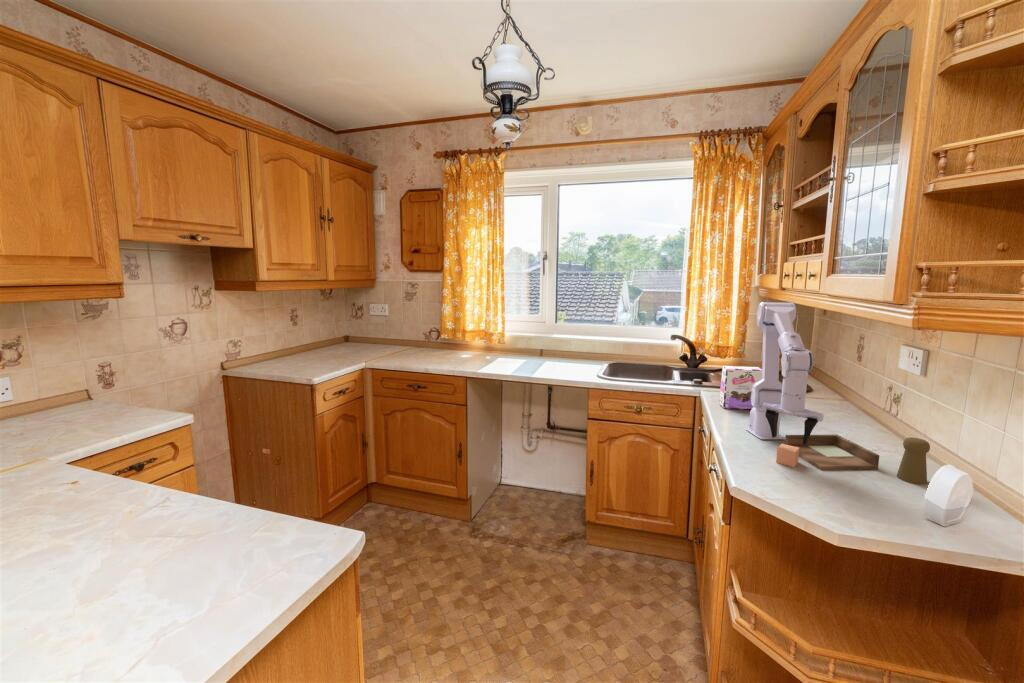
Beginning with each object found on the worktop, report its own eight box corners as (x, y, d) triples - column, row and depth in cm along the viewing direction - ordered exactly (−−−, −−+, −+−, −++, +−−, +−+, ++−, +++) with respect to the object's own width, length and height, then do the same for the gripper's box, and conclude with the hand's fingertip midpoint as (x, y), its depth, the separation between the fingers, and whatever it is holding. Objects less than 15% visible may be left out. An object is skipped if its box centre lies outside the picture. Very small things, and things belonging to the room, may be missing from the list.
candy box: (723, 409, 178) (725, 368, 176) (718, 404, 184) (721, 365, 181) (760, 410, 176) (764, 369, 173) (755, 406, 182) (758, 366, 179)
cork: (933, 485, 114) (939, 444, 112) (905, 483, 115) (911, 442, 114) (917, 475, 120) (922, 435, 118) (891, 473, 121) (896, 434, 120)
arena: (784, 447, 139) (785, 434, 139) (835, 446, 139) (837, 434, 139) (820, 469, 123) (821, 455, 123) (877, 469, 124) (879, 455, 123)
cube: (776, 462, 128) (777, 447, 128) (780, 458, 131) (781, 443, 131) (794, 467, 125) (795, 452, 124) (798, 462, 128) (799, 447, 128)
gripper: (760, 391, 127) (756, 437, 129) (821, 401, 117) (816, 450, 119) (768, 386, 132) (764, 431, 134) (827, 396, 122) (822, 443, 124)
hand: (789, 440), depth 127 cm, fingers open, 7 cm apart
